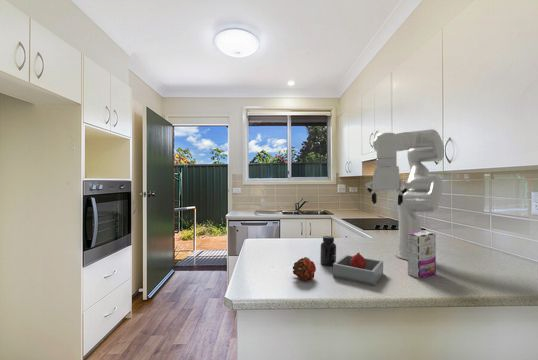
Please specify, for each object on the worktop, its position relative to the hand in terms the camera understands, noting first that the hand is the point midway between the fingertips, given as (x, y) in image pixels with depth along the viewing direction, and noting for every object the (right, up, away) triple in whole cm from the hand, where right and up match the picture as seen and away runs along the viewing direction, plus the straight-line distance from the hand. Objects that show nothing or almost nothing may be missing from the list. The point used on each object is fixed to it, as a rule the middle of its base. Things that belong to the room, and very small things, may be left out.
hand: (386, 204), depth 108 cm
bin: (-14, -27, -7) cm, 31 cm away
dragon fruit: (-36, -28, -10) cm, 46 cm away
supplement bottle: (-23, -28, +7) cm, 36 cm away
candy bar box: (+11, -28, -5) cm, 30 cm away
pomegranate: (-14, -27, -6) cm, 31 cm away
